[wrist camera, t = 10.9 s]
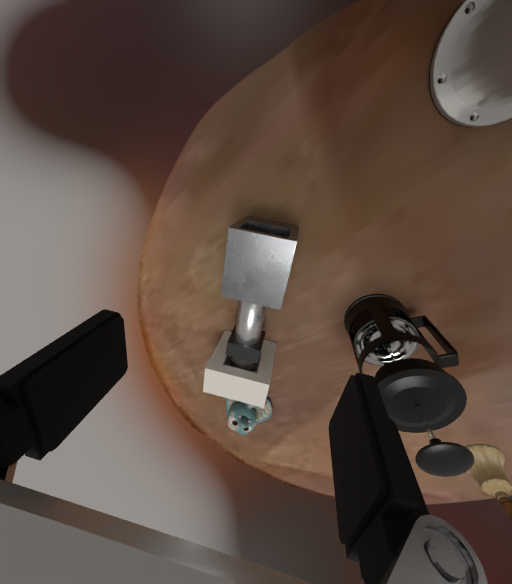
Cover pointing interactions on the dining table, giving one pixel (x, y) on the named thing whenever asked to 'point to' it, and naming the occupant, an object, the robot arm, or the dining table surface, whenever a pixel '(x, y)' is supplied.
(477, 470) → the hand bell
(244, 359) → the rod
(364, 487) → the robot arm
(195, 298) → the dining table surface
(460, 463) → the french press
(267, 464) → the dining table surface
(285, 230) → the grey metal block
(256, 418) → the stuffed animal
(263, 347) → the socket
